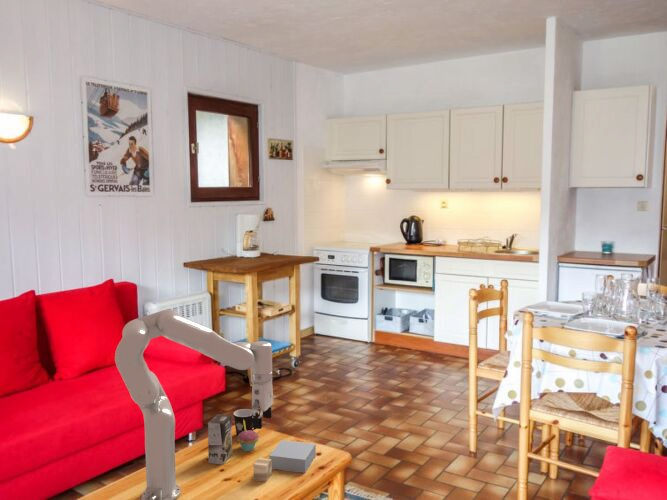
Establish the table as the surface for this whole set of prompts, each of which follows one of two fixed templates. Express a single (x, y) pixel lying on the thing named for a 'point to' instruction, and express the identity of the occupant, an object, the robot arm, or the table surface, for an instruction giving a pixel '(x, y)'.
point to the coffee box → (220, 438)
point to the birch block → (262, 469)
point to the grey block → (293, 456)
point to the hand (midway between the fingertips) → (262, 423)
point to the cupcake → (247, 439)
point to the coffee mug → (239, 417)
